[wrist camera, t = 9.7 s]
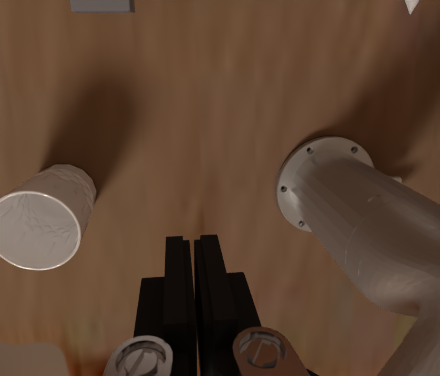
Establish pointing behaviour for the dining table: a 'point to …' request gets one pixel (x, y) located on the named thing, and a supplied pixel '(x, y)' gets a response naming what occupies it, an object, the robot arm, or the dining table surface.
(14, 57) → the dining table surface
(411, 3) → the white compartment tray
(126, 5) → the tipping tray
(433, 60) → the dining table surface
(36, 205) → the white cup
